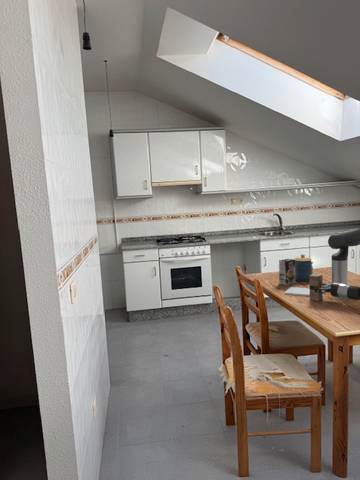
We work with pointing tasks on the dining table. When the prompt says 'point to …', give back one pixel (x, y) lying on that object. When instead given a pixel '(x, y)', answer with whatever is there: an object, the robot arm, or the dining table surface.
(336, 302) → the dining table surface
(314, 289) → the robot arm
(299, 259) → the canister
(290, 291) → the pale pad
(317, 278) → the walnut block
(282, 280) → the coffee box
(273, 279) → the dining table surface
